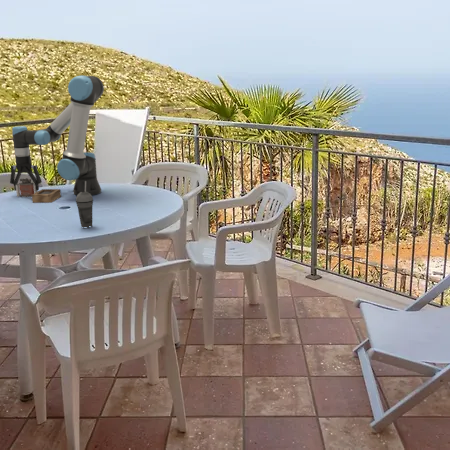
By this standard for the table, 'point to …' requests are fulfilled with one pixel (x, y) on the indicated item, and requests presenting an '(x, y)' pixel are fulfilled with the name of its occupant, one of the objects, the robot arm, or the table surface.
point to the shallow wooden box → (46, 196)
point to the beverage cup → (85, 207)
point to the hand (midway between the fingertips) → (27, 196)
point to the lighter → (26, 188)
